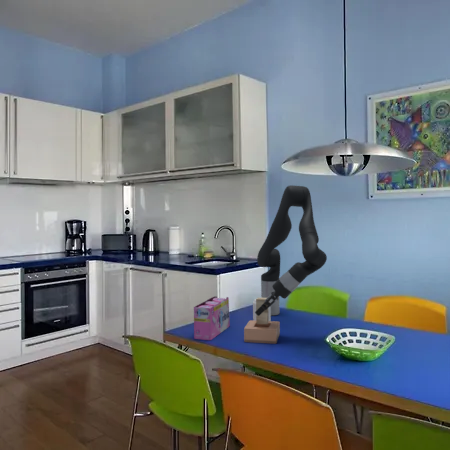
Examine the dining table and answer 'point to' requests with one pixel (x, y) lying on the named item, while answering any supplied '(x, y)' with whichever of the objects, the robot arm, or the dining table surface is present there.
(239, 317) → the dining table surface
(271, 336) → the well
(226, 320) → the gum box
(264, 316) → the post
